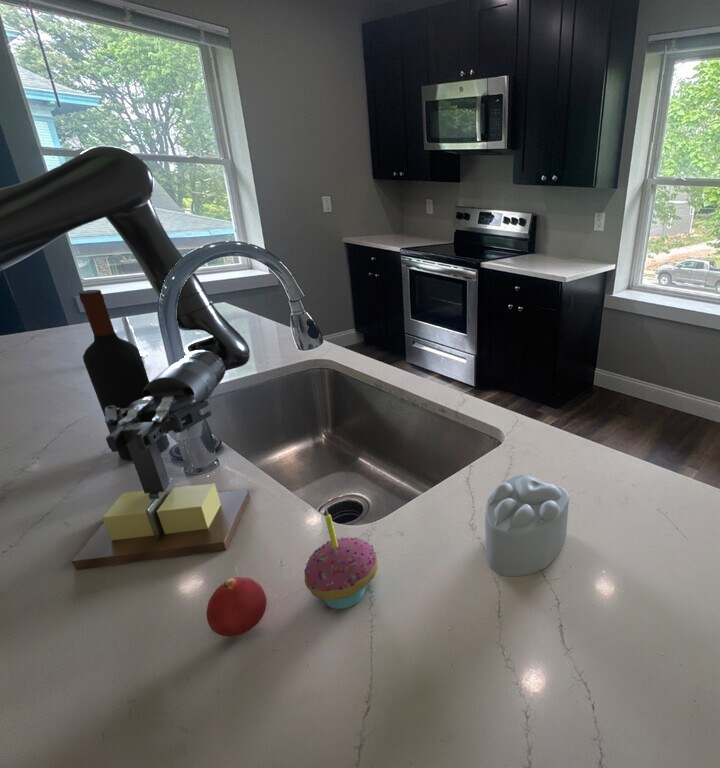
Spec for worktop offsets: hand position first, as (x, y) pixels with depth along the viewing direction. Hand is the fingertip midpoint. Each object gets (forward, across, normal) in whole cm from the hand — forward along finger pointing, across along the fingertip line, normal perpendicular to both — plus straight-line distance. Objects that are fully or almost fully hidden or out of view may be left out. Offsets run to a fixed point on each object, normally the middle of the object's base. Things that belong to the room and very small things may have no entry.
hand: (127, 444), depth 59 cm
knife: (-3, 0, +15) cm, 15 cm away
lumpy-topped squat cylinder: (+10, +50, +17) cm, 54 cm away
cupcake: (+14, +26, +17) cm, 34 cm away
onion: (+17, +15, +17) cm, 28 cm away
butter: (-3, 0, +15) cm, 15 cm away
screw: (-77, -36, +16) cm, 86 cm away
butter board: (-3, 0, +16) cm, 17 cm away
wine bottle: (-28, -14, +16) cm, 35 cm away
